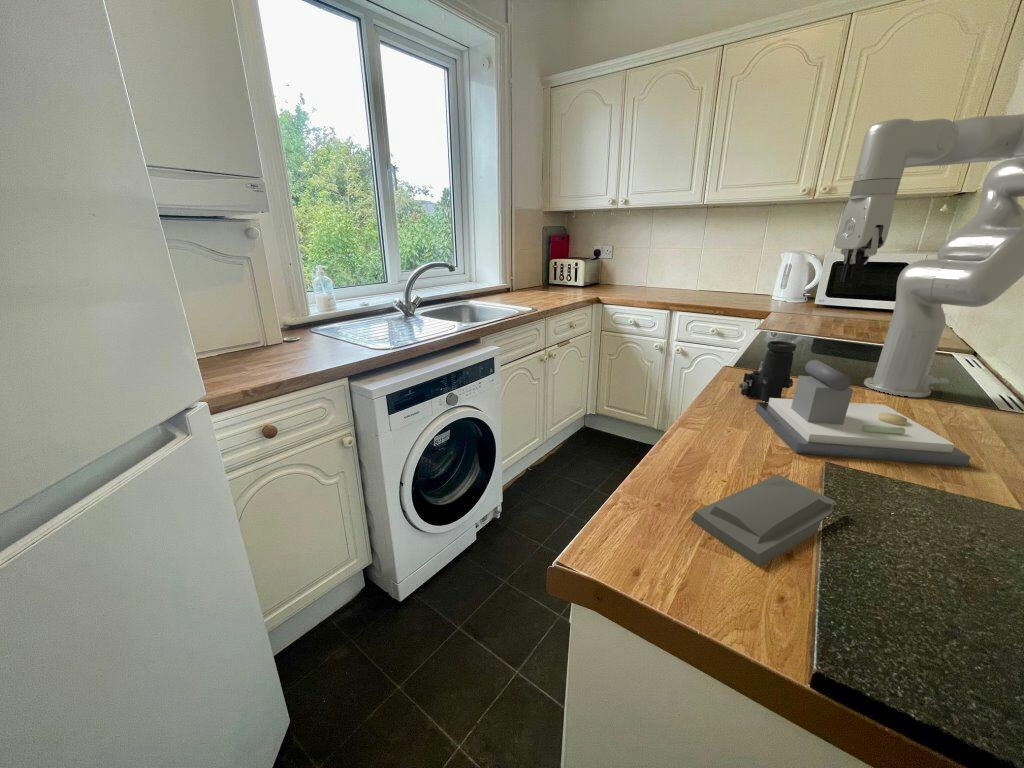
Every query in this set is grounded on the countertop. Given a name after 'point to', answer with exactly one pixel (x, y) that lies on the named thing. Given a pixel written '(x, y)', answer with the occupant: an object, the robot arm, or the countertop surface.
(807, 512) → the soap mold
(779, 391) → the scope
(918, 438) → the leveling plate
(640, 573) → the countertop surface
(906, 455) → the leveling base
